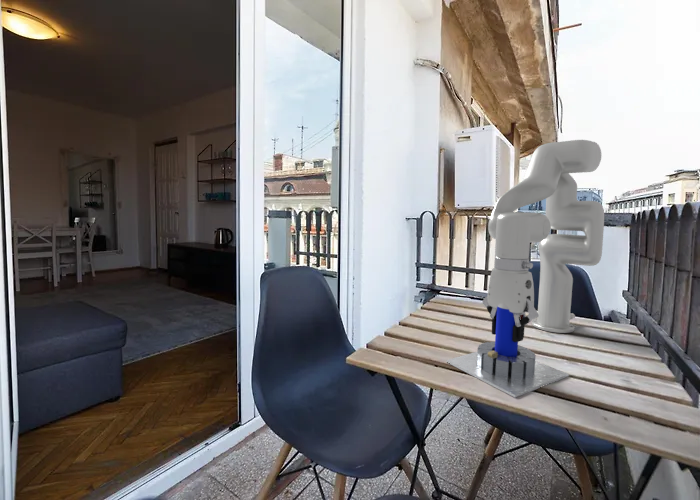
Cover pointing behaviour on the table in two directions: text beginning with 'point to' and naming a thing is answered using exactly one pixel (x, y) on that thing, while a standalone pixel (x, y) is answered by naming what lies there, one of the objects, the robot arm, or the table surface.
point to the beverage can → (505, 332)
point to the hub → (507, 369)
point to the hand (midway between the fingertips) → (507, 336)
